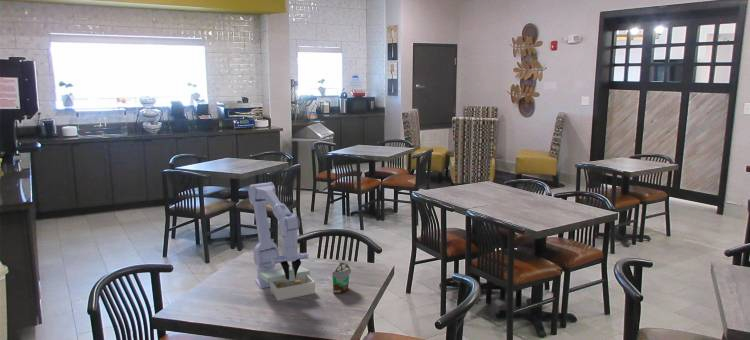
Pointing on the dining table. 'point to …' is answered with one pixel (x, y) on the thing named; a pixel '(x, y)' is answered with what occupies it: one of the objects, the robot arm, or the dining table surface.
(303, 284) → the tub
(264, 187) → the robot arm
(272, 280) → the lid
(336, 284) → the food container
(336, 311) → the dining table surface
